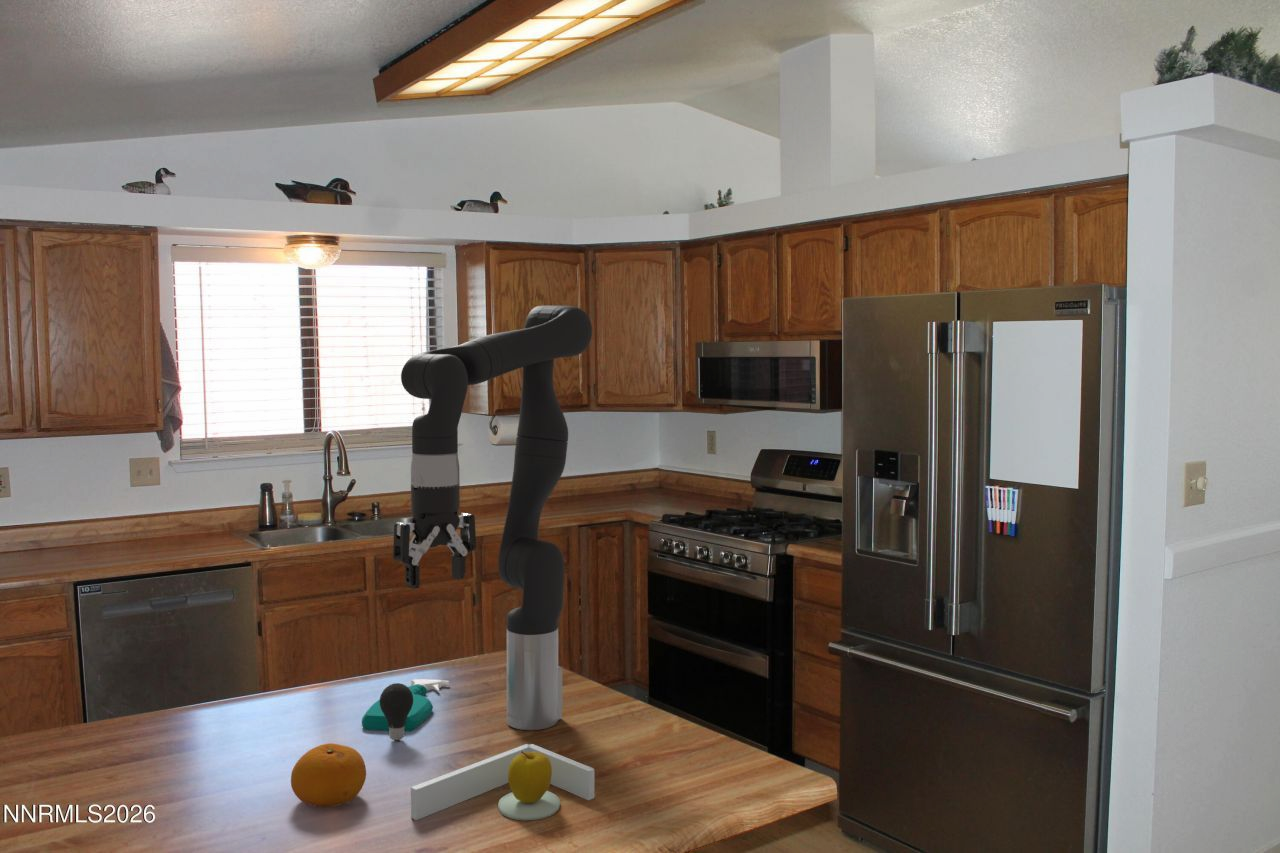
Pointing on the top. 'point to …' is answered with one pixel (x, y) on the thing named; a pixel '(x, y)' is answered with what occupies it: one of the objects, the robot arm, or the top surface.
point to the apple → (529, 776)
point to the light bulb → (396, 708)
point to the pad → (529, 807)
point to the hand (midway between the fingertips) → (435, 583)
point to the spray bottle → (417, 714)
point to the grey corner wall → (496, 780)
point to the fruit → (328, 775)
